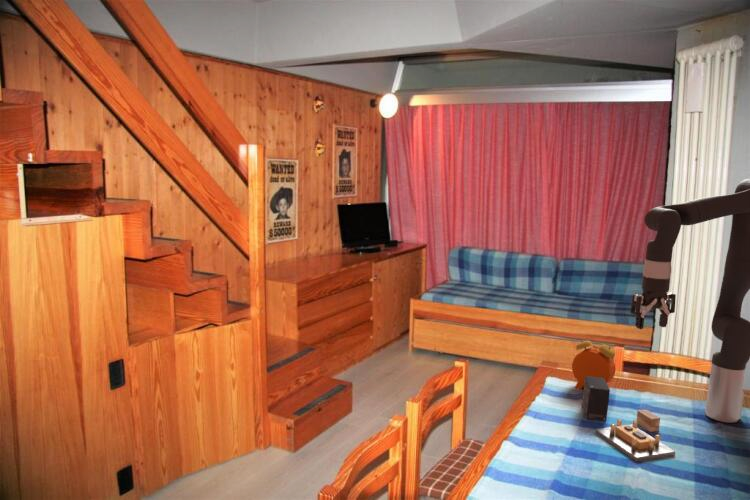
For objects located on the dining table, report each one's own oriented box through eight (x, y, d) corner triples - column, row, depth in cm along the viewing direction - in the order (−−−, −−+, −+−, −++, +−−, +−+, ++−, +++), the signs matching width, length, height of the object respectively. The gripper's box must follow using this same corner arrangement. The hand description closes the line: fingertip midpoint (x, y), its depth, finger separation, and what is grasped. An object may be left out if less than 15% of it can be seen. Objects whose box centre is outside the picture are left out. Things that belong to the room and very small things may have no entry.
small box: (607, 422, 183) (611, 389, 182) (585, 419, 185) (588, 387, 183) (602, 407, 194) (605, 377, 192) (581, 405, 195) (584, 375, 193)
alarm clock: (613, 392, 207) (619, 337, 203) (607, 397, 202) (612, 340, 199) (576, 381, 215) (581, 328, 212) (569, 386, 211) (574, 332, 207)
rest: (644, 421, 184) (645, 409, 183) (658, 430, 178) (660, 418, 178) (636, 422, 183) (637, 410, 183) (650, 431, 178) (652, 419, 177)
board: (628, 430, 175) (629, 422, 175) (654, 447, 166) (655, 438, 165) (614, 432, 174) (615, 424, 173) (639, 449, 164) (640, 440, 164)
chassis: (631, 427, 180) (632, 414, 179) (674, 455, 164) (676, 441, 163) (595, 432, 176) (596, 419, 175) (636, 461, 160) (637, 447, 159)
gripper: (666, 271, 183) (660, 322, 186) (628, 273, 179) (622, 325, 181) (685, 276, 176) (679, 329, 179) (646, 278, 172) (640, 332, 174)
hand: (651, 327), depth 180 cm, fingers open, 8 cm apart
